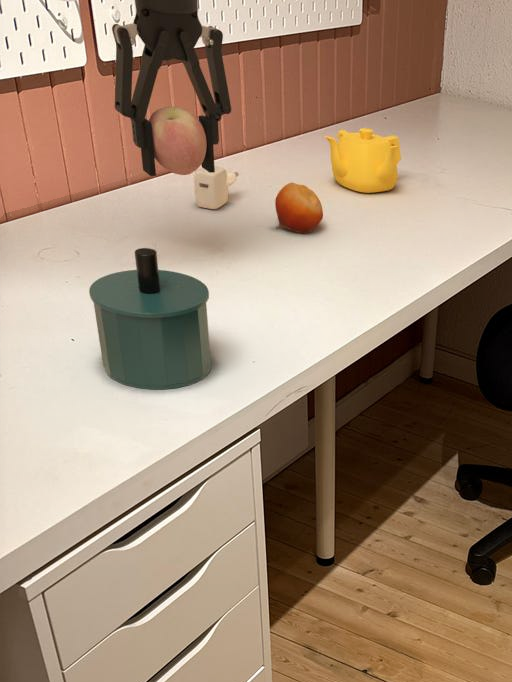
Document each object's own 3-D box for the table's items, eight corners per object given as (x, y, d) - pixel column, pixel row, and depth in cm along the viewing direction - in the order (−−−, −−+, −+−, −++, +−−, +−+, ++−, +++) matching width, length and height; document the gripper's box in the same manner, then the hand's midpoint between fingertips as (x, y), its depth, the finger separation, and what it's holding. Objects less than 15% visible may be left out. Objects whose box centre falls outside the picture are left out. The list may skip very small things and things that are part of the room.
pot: (89, 353, 119) (78, 281, 113) (187, 338, 125) (180, 269, 119) (126, 397, 112) (115, 322, 106) (227, 378, 118) (223, 307, 112)
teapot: (323, 191, 179) (323, 133, 172) (335, 171, 189) (336, 116, 182) (395, 201, 179) (398, 143, 172) (404, 181, 189) (407, 126, 183)
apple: (137, 168, 131) (131, 103, 126) (183, 161, 136) (179, 98, 131) (174, 185, 128) (169, 119, 122) (220, 177, 132) (217, 113, 127)
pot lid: (74, 285, 114) (66, 237, 110) (183, 272, 120) (178, 226, 117) (114, 329, 106) (107, 279, 102) (228, 313, 112) (225, 265, 109)
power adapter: (218, 190, 172) (216, 155, 168) (244, 194, 172) (242, 159, 168) (192, 207, 164) (189, 170, 160) (218, 212, 163) (216, 175, 160)
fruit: (274, 207, 164) (297, 168, 159) (312, 238, 166) (335, 201, 161) (257, 220, 158) (280, 181, 153) (296, 253, 160) (320, 215, 155)
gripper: (90, -27, 109) (114, 184, 124) (255, -19, 120) (260, 175, 135) (68, -39, 114) (94, 167, 128) (229, -30, 124) (236, 159, 139)
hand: (179, 171), depth 131 cm, fingers closed on apple, 8 cm apart
